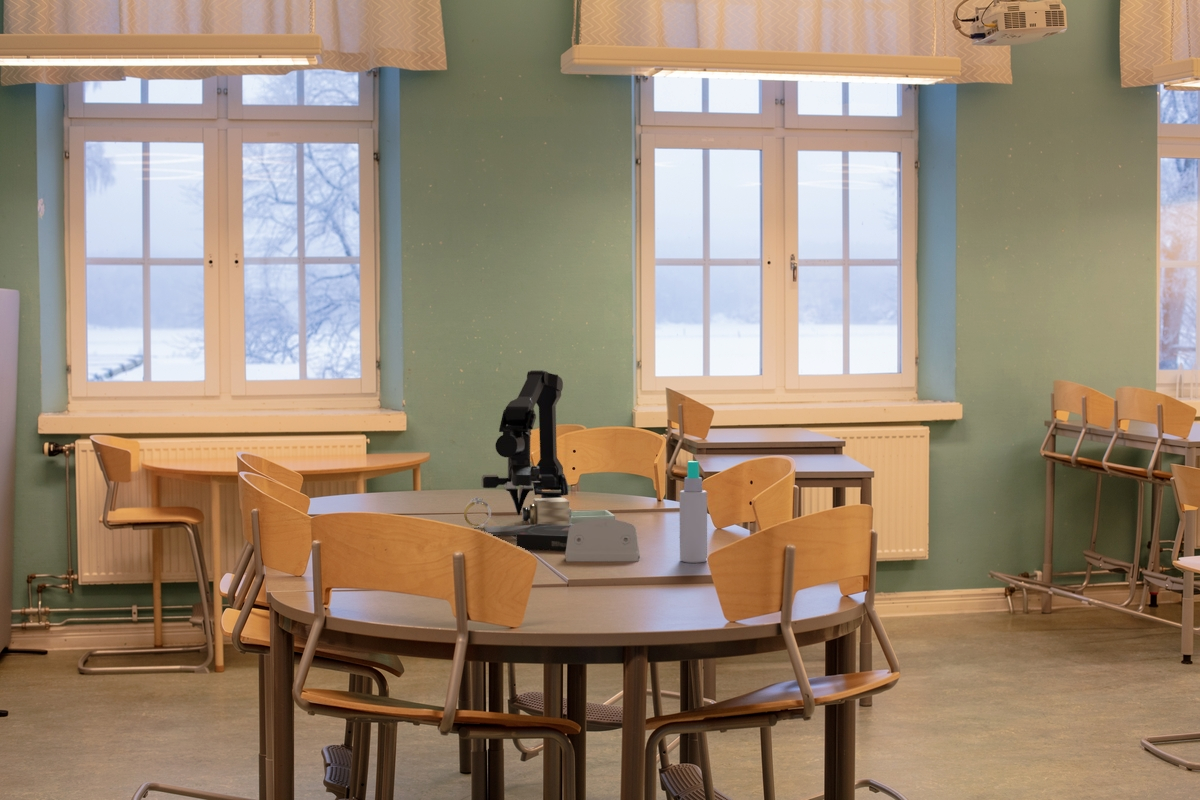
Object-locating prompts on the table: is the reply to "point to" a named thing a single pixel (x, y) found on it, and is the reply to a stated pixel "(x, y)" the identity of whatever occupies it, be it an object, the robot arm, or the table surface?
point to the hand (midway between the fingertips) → (518, 514)
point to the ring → (474, 504)
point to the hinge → (602, 541)
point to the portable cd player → (544, 537)
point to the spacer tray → (589, 515)
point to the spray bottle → (693, 517)
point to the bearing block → (539, 516)
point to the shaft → (532, 513)
